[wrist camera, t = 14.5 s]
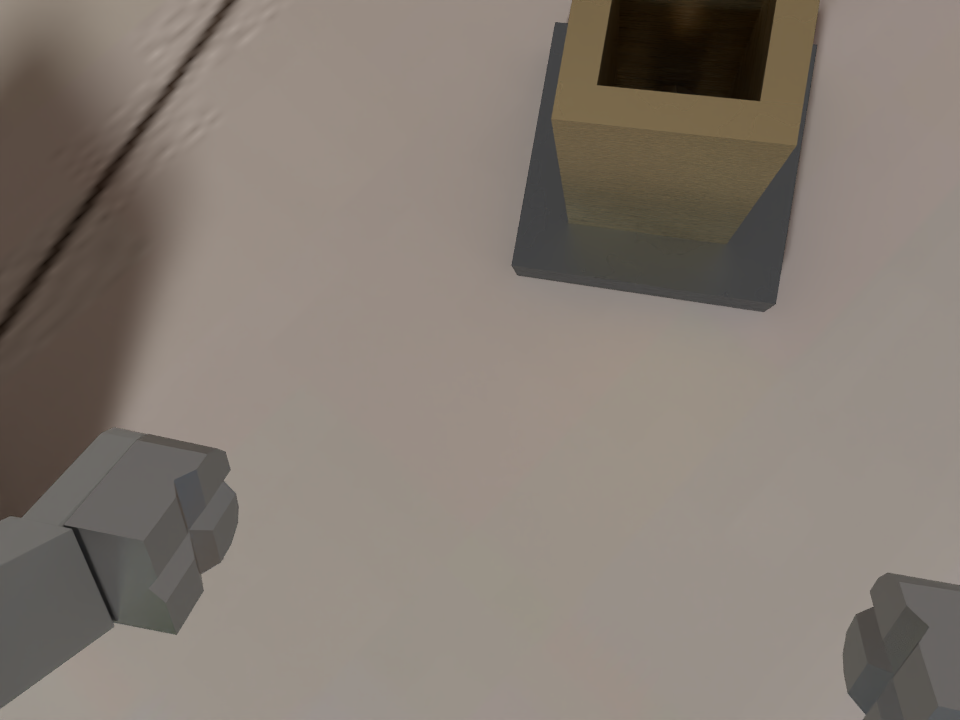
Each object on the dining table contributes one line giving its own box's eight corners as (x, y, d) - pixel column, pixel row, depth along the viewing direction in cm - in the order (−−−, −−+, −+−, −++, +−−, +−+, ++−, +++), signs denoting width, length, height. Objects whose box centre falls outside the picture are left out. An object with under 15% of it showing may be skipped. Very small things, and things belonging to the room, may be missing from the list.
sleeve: (568, 222, 28) (551, 118, 19) (594, 75, 29) (591, -104, 19) (726, 244, 27) (796, 145, 18) (751, 90, 28) (834, -91, 18)
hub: (517, 275, 31) (497, 240, 25) (558, 47, 31) (548, -40, 25) (763, 311, 29) (805, 284, 23) (802, 69, 29) (853, -18, 24)
